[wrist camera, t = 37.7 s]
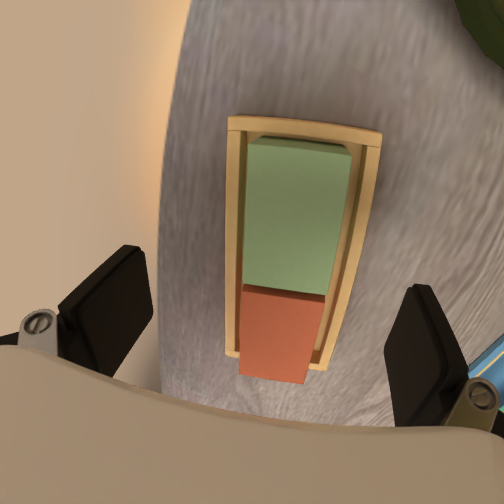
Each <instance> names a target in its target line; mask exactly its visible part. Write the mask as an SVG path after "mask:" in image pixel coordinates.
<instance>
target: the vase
mask: <svg viewBox="0 0 504 504" xmlns="http://www.w3.org/2000/svg"><path fill="white" fill-rule="evenodd" d="M454 1H455V3H456V6H457V9H458V11H459V14H460V17H461V20H462V23H463V25H464V26H465V28H466V29H467V30H468V32H469V33H470V34H471V36H472V37H473V38H474V40H475V41H476V42H477V44H478V45H479V47H480V48H481V49H482V51H483V52H484V54H485V55H486V56H487V57H489V58H490V59H491V60H493V61H494V62H495V63H497V64H498V65H499V66H501V67H502V68H503V69H504V0H454Z"/></svg>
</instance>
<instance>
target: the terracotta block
mask: <svg viewBox="0 0 504 504" xmlns="http://www.w3.org/2000/svg"><path fill="white" fill-rule="evenodd" d="M324 306H325V295H321V294H313V293H306V292H299V291H292V290H285V289H278V288H271V287H265V286H258V285H252V284H245V283H244V286H243V288H242V291H241V319H240V350H239V374H242V375H247V376H253V377H259V378H264V379H271V380H277V381H283V382H290V383H298V384H304V381H305V377H306V374H307V371H308V367H309V364H310V360H311V356H312V353H313V349H314V345H315V342H316V338H317V334H318V330H319V326H320V322H321V318H322V314H323V310H324Z"/></svg>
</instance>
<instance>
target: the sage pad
mask: <svg viewBox="0 0 504 504" xmlns="http://www.w3.org/2000/svg"><path fill="white" fill-rule="evenodd" d="M351 164H352V155H351V154H350V152H349V151H348V150H347V148H346V147H345V146H344V145H342V144H335V143H328V142H321V141H313V140H305V139H296V138H287V137H276V136H264V135H263V136H261V137H259V138H257V139H255V140H254V141H252V142H250V143H249V144H248V156H247V178H246V201H245V225H244V250H243V275H242V282H243V283H245V284H252V285H258V286H265V287H271V288H278V289H285V290H292V291H299V292H306V293H313V294H321V295H327V294H328V290H329V285H330V281H331V276H332V272H333V267H334V262H335V257H336V252H337V247H338V242H339V237H340V232H341V226H342V221H343V215H344V209H345V203H346V197H347V191H348V185H349V178H350V171H351Z"/></svg>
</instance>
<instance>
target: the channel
mask: <svg viewBox="0 0 504 504" xmlns="http://www.w3.org/2000/svg"><path fill="white" fill-rule="evenodd" d="M227 129H228V131H227V164H226V214H225V344H226V356H231V357H236V358H239V350H240V319H241V291H242V288H243V286H244V283H243V282H242V275H243V250H244V225H245V201H246V178H247V156H248V144H249V143H250V142H252V141H254V140H255V139H257V138H259V137H261V136H263V135H264V136H276V137H287V138H296V139H305V140H313V141H321V142H328V143H335V144H342V145H344V146H345V147H346V148H347V150H348V151H349V152H350V154H351V155H352V164H351V171H350V178H349V185H348V191H347V197H346V203H345V209H344V215H343V221H342V226H341V232H340V237H339V242H338V247H337V252H336V257H335V262H334V267H333V272H332V276H331V281H330V285H329V290H328V294H327V295H325V306H324V310H323V314H322V318H321V322H320V326H319V330H318V334H317V338H316V342H315V345H314V349H313V353H312V356H311V360H310V364H309V367H308V369H312V370H321V371H326V370H327V367H328V364H329V361H330V359H331V356H332V353H333V350H334V347H335V344H336V341H337V337H338V334H339V331H340V328H341V325H342V321H343V318H344V315H345V311H346V308H347V304H348V301H349V297H350V294H351V290H352V287H353V283H354V279H355V275H356V271H357V267H358V263H359V259H360V255H361V251H362V247H363V242H364V238H365V234H366V229H367V224H368V220H369V215H370V210H371V205H372V199H373V194H374V189H375V183H376V177H377V171H378V165H379V158H380V151H381V144H382V137H383V134H381V133H379V132H377V131H373V130H368V129H362V128H356V127H350V126H344V125H338V124H331V123H324V122H316V121H307V120H298V119H288V118H277V117H264V116H246V115H234V116H228V127H227Z"/></svg>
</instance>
